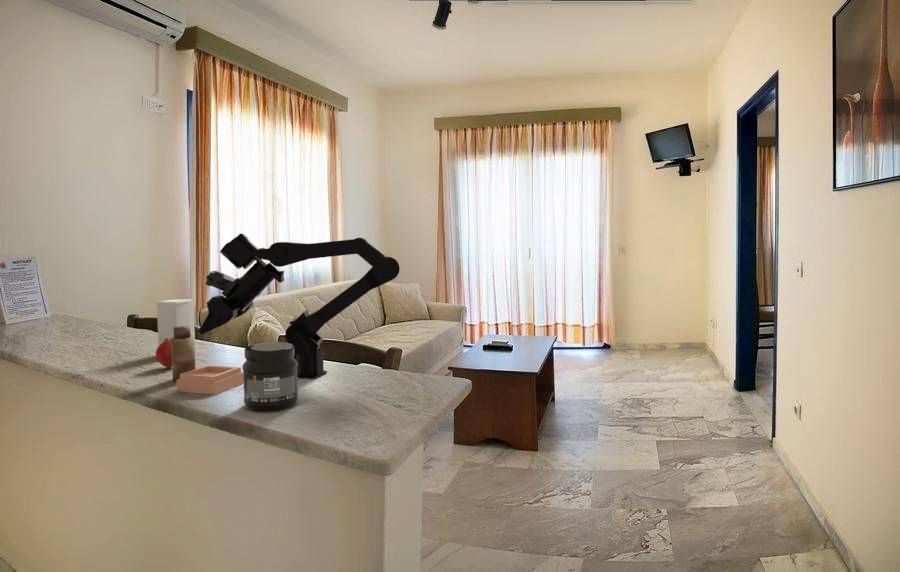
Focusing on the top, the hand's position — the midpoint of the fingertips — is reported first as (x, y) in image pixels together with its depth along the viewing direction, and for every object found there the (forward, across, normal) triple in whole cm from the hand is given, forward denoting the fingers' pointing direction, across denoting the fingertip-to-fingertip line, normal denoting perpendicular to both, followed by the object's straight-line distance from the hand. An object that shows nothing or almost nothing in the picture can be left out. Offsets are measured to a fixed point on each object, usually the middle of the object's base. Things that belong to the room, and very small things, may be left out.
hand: (206, 329), depth 133 cm
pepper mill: (+12, 0, +4) cm, 13 cm away
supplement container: (-5, +23, +22) cm, 33 cm away
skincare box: (+22, -30, -4) cm, 37 cm away
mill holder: (+6, +8, +11) cm, 15 cm away
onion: (+18, -12, -1) cm, 22 cm away
